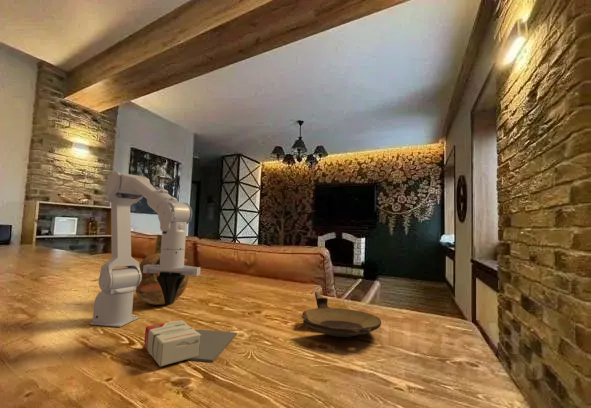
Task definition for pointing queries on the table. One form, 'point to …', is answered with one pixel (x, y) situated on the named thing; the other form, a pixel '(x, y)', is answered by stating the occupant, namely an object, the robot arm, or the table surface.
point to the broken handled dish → (339, 320)
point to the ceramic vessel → (155, 280)
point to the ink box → (172, 342)
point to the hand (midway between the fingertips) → (169, 303)
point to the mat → (212, 344)
